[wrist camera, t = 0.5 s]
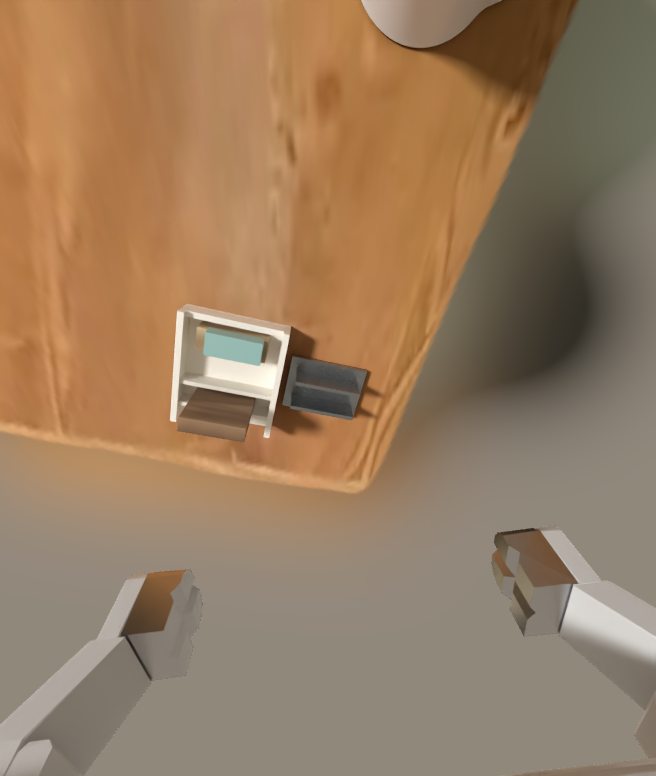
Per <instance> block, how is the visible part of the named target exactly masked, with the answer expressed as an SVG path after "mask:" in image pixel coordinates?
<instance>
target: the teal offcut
mask: <svg viewBox="0 0 656 776" xmlns="http://www.w3.org/2000/svg"><path fill="white" fill-rule="evenodd" d="M264 342H265V339H262V338H257V337H253V336H248V335H243V334H239V333H234V332H229V331H224V330H220V329H215V328H210V327H209V328H208V330H207V331H206V332H205V341H204V351H203V355H206V356H211V357H216V358H221V359H226V360H231V361H236V362H241V363H246V364H251V365H256V366H260V363H261V359H262V353H263V348H264Z"/></svg>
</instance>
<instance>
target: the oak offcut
mask: <svg viewBox="0 0 656 776" xmlns="http://www.w3.org/2000/svg"><path fill="white" fill-rule="evenodd" d="M209 327H210V328H215V329H220V330H224V331H229V332H234V333H239V334H243V335H248V336H253V337H257V338H262V339H265V342H264V348H263V353H262V359H261V363H265V360H266V357H267V353H268V347H269V342H270V336H271V335H269V334H264V333H259V332H255V331H250V330H245V329H241V328H236V327H231V326H227V325H222V324H217V323H212V322H208V321H202V322H201V323H200V324H199V325H198V327H197V333H196V344H195V349H197V350H202V351H204V341H205V332H206V331H207V330H208V328H209Z"/></svg>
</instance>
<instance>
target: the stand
mask: <svg viewBox="0 0 656 776" xmlns="http://www.w3.org/2000/svg"><path fill="white" fill-rule="evenodd" d="M366 374H367V370H365V369H361V368H356V367H351V366H346V365H341V364H336V363H332V362H327V361H322V360H317V359H312V358H308V357H303V356H298V355H293V356H292V360H291V365H290V370H289V375H288V379H287V384H286V389H285V393H284V398H283V403H282V405H284V406H289V407H290V409H294V410H300V411H305V412H311V413H316V414H321V415H327V416H332V417H337V418H343V419H348V420H353V416H354V413H355V409H356V406H357V403H358V400H359V398H360V393H361V390H362V387H363V384H364V380H365V377H366Z"/></svg>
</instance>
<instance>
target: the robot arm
mask: <svg viewBox="0 0 656 776" xmlns="http://www.w3.org/2000/svg"><path fill="white" fill-rule="evenodd" d="M361 1H362V3H363V6H364V8H365V10H366V12H367V13H368V15H369V17H370V18H371V19H372V21H373V22H374V24H375V25H376V26H377V27H378V28H379V29H380V30H381V31H382V32H383V33H384V34H385V35H386V36H388V37H389V38H390V39H392V40H394V41H395V42H397V43H400V44H402V45H405V46H409V47H414V48H426V47H432V46H436V45H439V44H442V43H444V42H446V41H448V40H450V39H452V38H453V37H455V36H456V35H458V34H459V33H460V32H461V31H463V30H464V29H465V28H466V27H467V26H468V25H469V24H470V23H471V22H472V21H473V19H474V18H475V17H476V16H477V15H478V14H479V13H480V12H481V11H482V10H484V9H485V8H486V7H488V6H491V5H493V4H495V3H498V2H500V1H502V0H361ZM494 544H495V546H496V548H497V550H496V551H495V553H493V555H492V569H493V574H494V577H495V580H496V583H497V585H498V587H499V589H500V591H501V593H502V594H504V595H505V596H506V597H508V598H509V599H510V600H511V607H510V611H511V613H512V614H513V617H514V618H515V620H516V622H517V624H518V626H519V628H520V630H521V632H522V634H523V636H524V637H525V636H537V635H549V634H559V636H560V637H561V638H563V639H564V640H565V641H566V642H567V643H568V644H569V645H570V646H572V647H573V648H574V649H575V650H576V651H577V652H579V653H580V654H581V655H582V656H583V657H584V658H585V659H586V660H588V661H589V662H590V663H591V664H592V665H593V666H595V667H596V668H597V669H598V670H599V671H600V672H601V673H603V674H604V675H605V676H606V677H607V678H608V679H609V680H611V681H612V682H613V683H614V684H615V685H617V686H618V687H619V688H620V689H621V690H622V691H623V692H624V693H626V694H627V695H628V696H629V697H630V698H631V699H632V700H634V701H635V702H636V703H637V704H638V705H639V706H640V707H642V708H643V709H644V710H645V712H644V714H643V716H642V718H641V719H640V721H639V723H638V725H637V727H636V731H635V735H634V736H635V737H636V739H637V741H638V742H639V744H640V746H641V747H642V749H643V750H644V752H645V753H646V755H647V757H648V759H640V760H631V761H623V762H614V763H605V764H596V765H588V766H580V767H570V768H562V769H553V770H544V771H536V772H527V773H518V774H510V775H501V776H656V608H654V607H653V606H651V605H649V604H648V603H646V602H644V601H642V600H641V599H639V598H637V597H636V596H634V595H632V594H630V593H629V592H627V591H625V590H624V589H622V588H620V587H618V586H617V585H615V584H613V583H612V582H610V581H602V580H601V579H600V578H599V577H598V576H597V574H596V573H595V572H594V571H593V569H592V568H591V567H590V566H589V564H588V563H587V562H586V561H585V559H584V558H583V557H582V556H581V555H580V553H579V552H578V551H577V550H576V548H575V547H574V546H573V545H572V544H571V542H570V541H569V540H568V539H567V537H566V536H565V535H564V534H563V532H562V531H561V530H560V529H559V528H557V527H556V526H548V527H540V528H528V529H521V530H513V531H505V532H498V533H497V534H496V535H495V538H494ZM193 581H194V575H193V573H192V571H191V570H190V569H189V570H178V571H165V572H154V573H144V574H135V575H131V576H130V577H129V578H128V579H127V581H126V582H125V584H124V586H123V588H122V590H121V592H120V594H119V596H118V598H117V600H116V602H115V604H114V606H113V608H112V610H111V612H110V614H109V616H108V618H107V620H106V622H105V624H104V626H103V628H102V630H101V632H100V634H99V636H98V638H97V640H92V641H90V642H88V643H87V644H86V645H85V646H84V647H83V648H82V649H81V650H80V651H79V652H78V653H77V654H76V655H74V656H73V657H72V658H71V659H70V660H69V661H68V662H67V663H66V664H65V665H64V666H63V667H62V668H61V669H59V670H58V672H56V673H55V674H54V675H53V676H52V677H51V678H50V679H49V680H48V681H47V682H46V683H44V684H43V685H42V686H41V687H40V688H39V689H38V690H37V691H36V692H35V693H34V694H33V695H32V696H31V697H29V698H28V699H27V700H26V701H25V702H24V703H23V704H22V705H21V706H20V707H19V708H18V709H17V710H15V711H14V712H13V713H12V714H11V715H10V716H9V717H8V718H7V719H6V720H5V721H4V722H3V723H2V724H0V776H84V774H85V773H86V771H87V770H88V769H89V768H90V766H91V765H92V764H93V762H94V761H95V760H96V758H97V757H98V755H99V754H100V753H101V751H102V750H103V749H104V747H105V746H106V745H107V743H108V742H109V741H110V739H111V738H112V736H113V735H114V734H115V732H116V731H117V729H118V728H119V727H120V726H121V724H122V723H123V721H124V720H125V719H126V717H127V716H128V715H129V713H130V712H131V711H132V709H133V708H134V707H135V705H136V704H137V702H138V701H139V700H140V698H141V697H142V696H143V694H144V693H145V692H146V690H147V689H148V687H149V686H150V685H151V681H154V680H161V679H168V678H175V677H182V676H186V674H187V670H188V666H189V663H190V659H191V655H192V651H193V648H194V646H193V643H192V641H191V636H192V635H193V634H194V633H195V632H196V631H197V629H198V628H199V625H200V621H201V617H202V605H203V603H202V596H201V593H200V590H199V589H198V588H197V587H195V586H193Z"/></svg>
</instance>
